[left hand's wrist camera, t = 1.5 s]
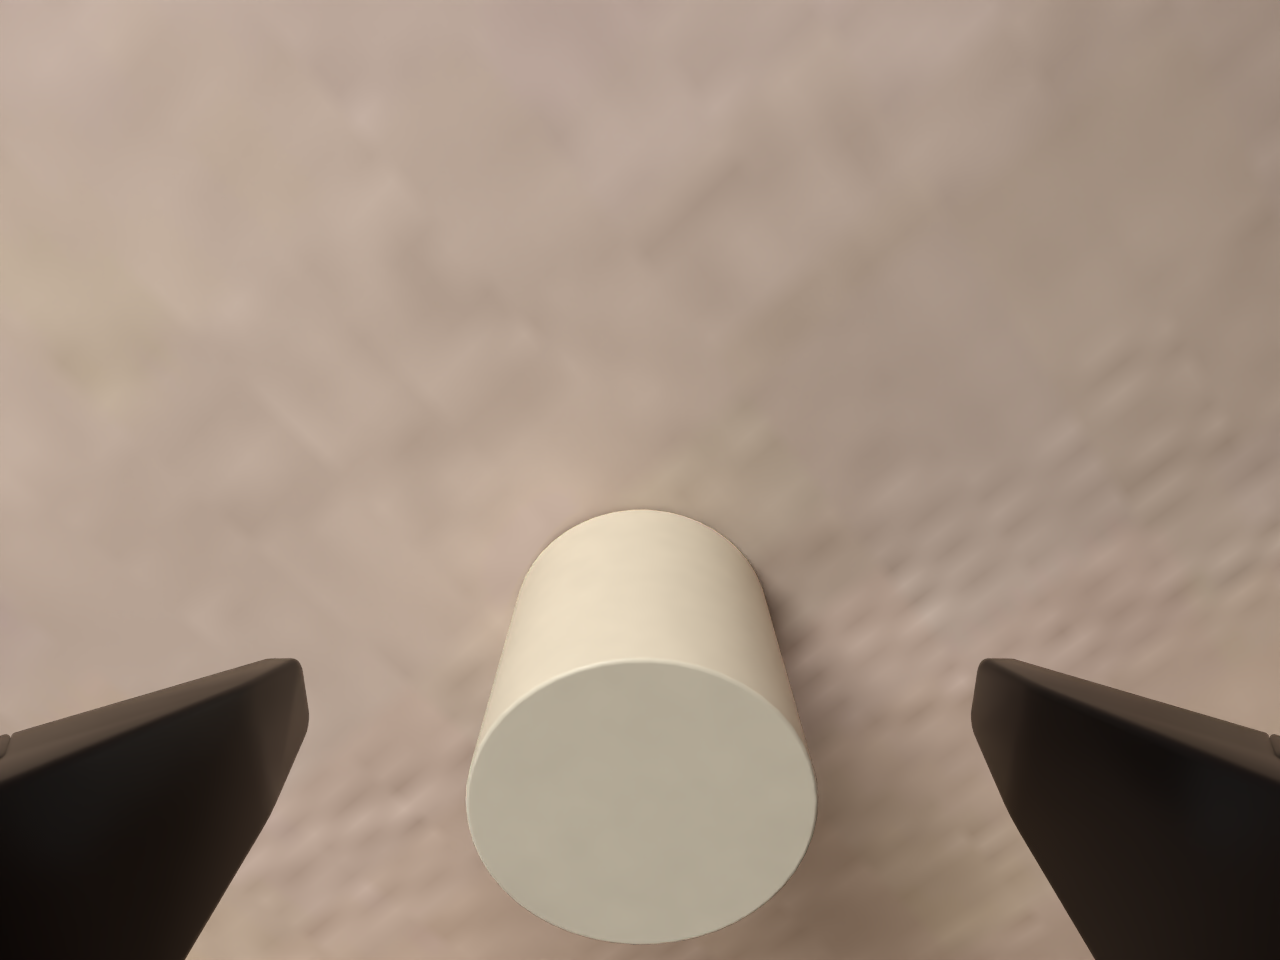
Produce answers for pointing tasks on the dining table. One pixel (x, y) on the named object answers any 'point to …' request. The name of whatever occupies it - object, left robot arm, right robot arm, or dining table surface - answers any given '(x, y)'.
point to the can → (641, 738)
